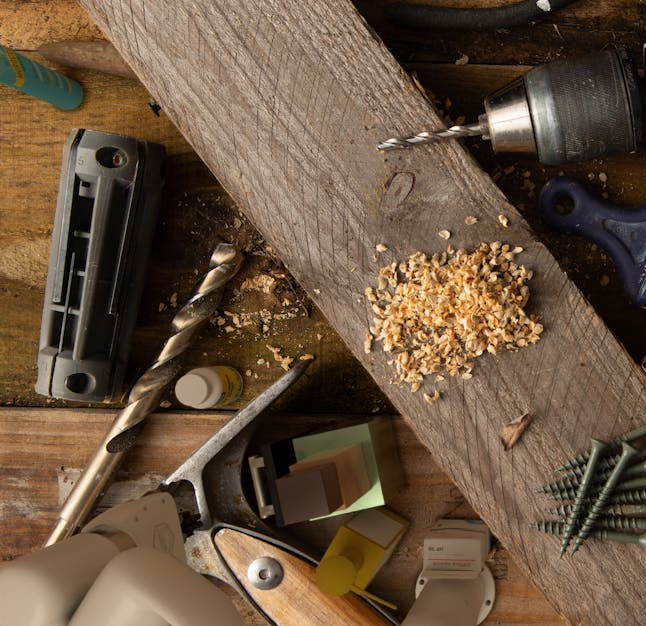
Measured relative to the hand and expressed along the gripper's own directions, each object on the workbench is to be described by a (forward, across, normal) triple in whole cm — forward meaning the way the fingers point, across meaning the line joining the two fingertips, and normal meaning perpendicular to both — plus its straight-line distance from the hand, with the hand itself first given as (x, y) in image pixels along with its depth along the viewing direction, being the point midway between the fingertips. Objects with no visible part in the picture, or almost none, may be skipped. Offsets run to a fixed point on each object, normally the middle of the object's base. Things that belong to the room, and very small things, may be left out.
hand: (190, 521), depth 98 cm
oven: (+28, +1, -14) cm, 31 cm away
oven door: (+28, +1, -5) cm, 29 cm away
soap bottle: (+28, -13, -16) cm, 35 cm away
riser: (+15, 0, -15) cm, 21 cm away
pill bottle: (+28, +17, +5) cm, 33 cm away
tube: (+27, +67, +20) cm, 75 cm away
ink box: (+29, -15, -27) cm, 42 cm away
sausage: (+22, +69, +14) cm, 74 cm away
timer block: (+3, 0, -15) cm, 15 cm away
